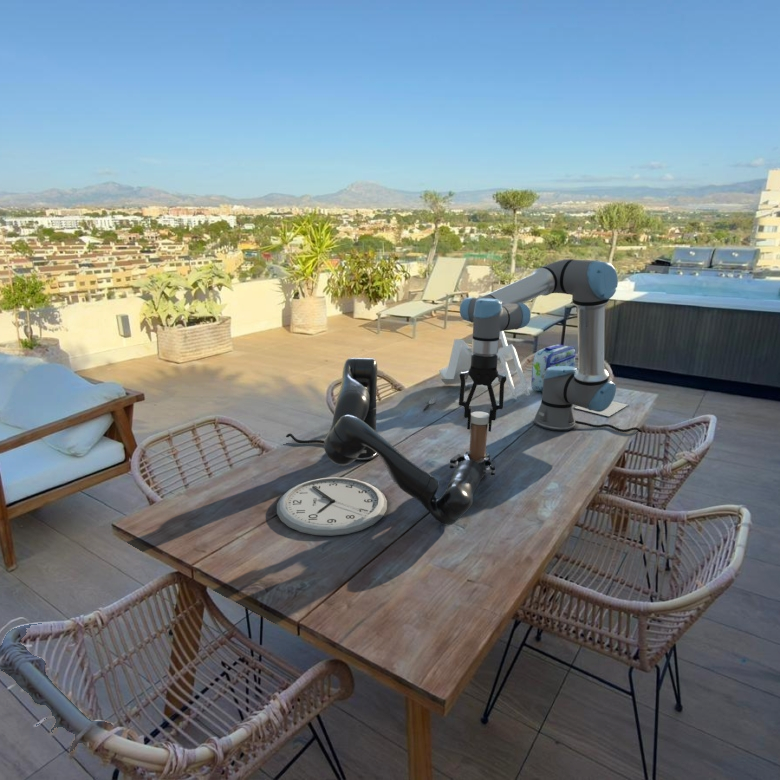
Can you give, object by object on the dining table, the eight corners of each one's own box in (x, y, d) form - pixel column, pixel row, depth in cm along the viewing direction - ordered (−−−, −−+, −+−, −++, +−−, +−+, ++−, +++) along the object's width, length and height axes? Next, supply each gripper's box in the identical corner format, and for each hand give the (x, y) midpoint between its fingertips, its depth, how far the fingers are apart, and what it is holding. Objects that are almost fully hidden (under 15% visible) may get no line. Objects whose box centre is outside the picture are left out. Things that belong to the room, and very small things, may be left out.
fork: (420, 411, 216) (420, 406, 216) (430, 400, 230) (431, 395, 230) (426, 412, 215) (426, 407, 215) (436, 401, 230) (436, 396, 229)
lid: (488, 418, 159) (488, 411, 158) (490, 425, 153) (491, 418, 153) (469, 418, 159) (469, 411, 158) (471, 424, 153) (471, 417, 153)
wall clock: (392, 527, 129) (268, 531, 127) (391, 533, 130) (269, 537, 127) (383, 473, 158) (282, 475, 155) (383, 478, 158) (282, 480, 156)
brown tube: (486, 478, 160) (491, 418, 154) (471, 480, 159) (475, 420, 153) (479, 471, 164) (484, 413, 158) (465, 473, 163) (469, 414, 157)
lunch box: (547, 397, 237) (552, 352, 231) (526, 391, 245) (531, 348, 238) (574, 386, 255) (580, 344, 249) (554, 381, 262) (559, 340, 256)
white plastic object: (461, 429, 252) (437, 405, 227) (444, 352, 274) (420, 323, 250) (535, 404, 240) (518, 377, 215) (510, 326, 262) (492, 293, 237)
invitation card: (608, 416, 214) (573, 407, 224) (608, 416, 214) (573, 408, 224) (628, 404, 229) (594, 396, 238) (628, 405, 229) (594, 397, 238)
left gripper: (441, 485, 150) (455, 461, 166) (491, 494, 145) (501, 469, 161) (442, 461, 148) (457, 439, 163) (493, 470, 143) (503, 447, 158)
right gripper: (517, 352, 151) (510, 427, 158) (453, 348, 155) (449, 421, 162) (517, 358, 144) (510, 436, 151) (450, 354, 148) (446, 430, 155)
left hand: (478, 454), depth 162 cm, fingers closed on brown tube, 5 cm apart
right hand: (479, 428), depth 157 cm, fingers closed on lid, 5 cm apart
